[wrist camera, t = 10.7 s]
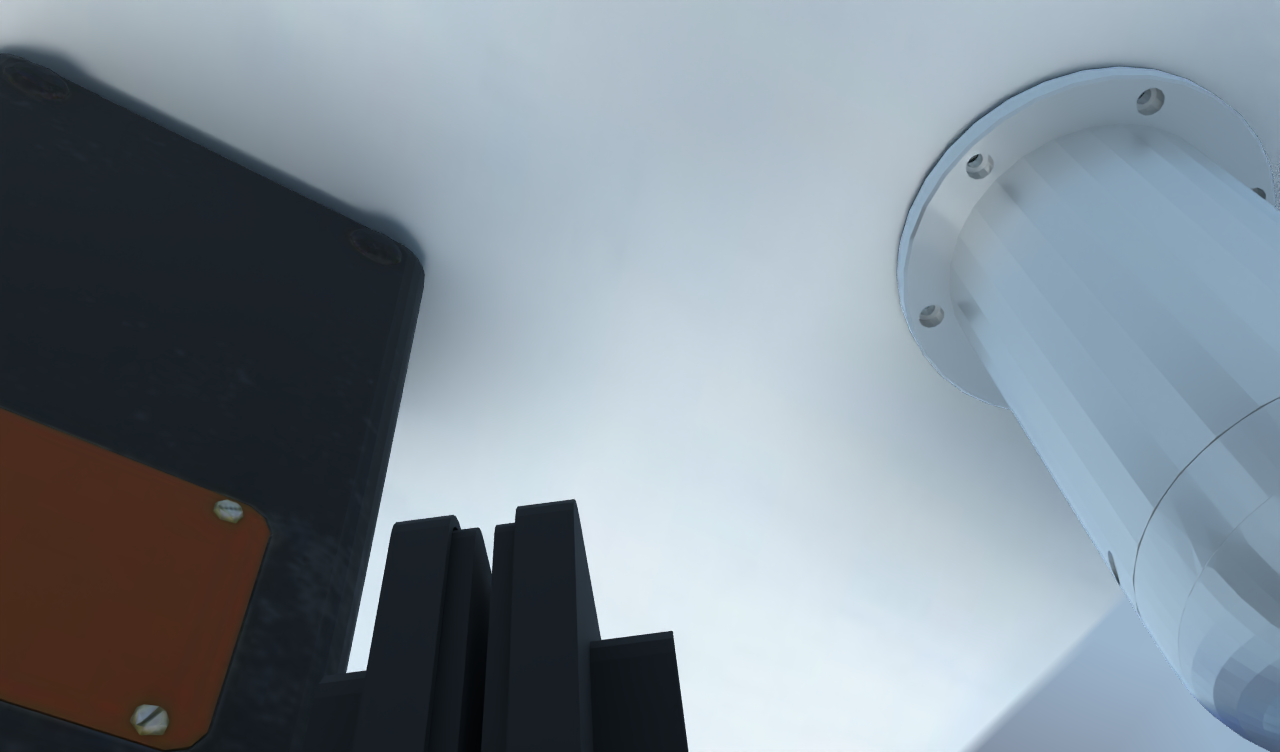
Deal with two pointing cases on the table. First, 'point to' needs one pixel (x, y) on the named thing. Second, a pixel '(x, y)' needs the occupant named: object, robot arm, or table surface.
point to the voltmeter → (180, 432)
